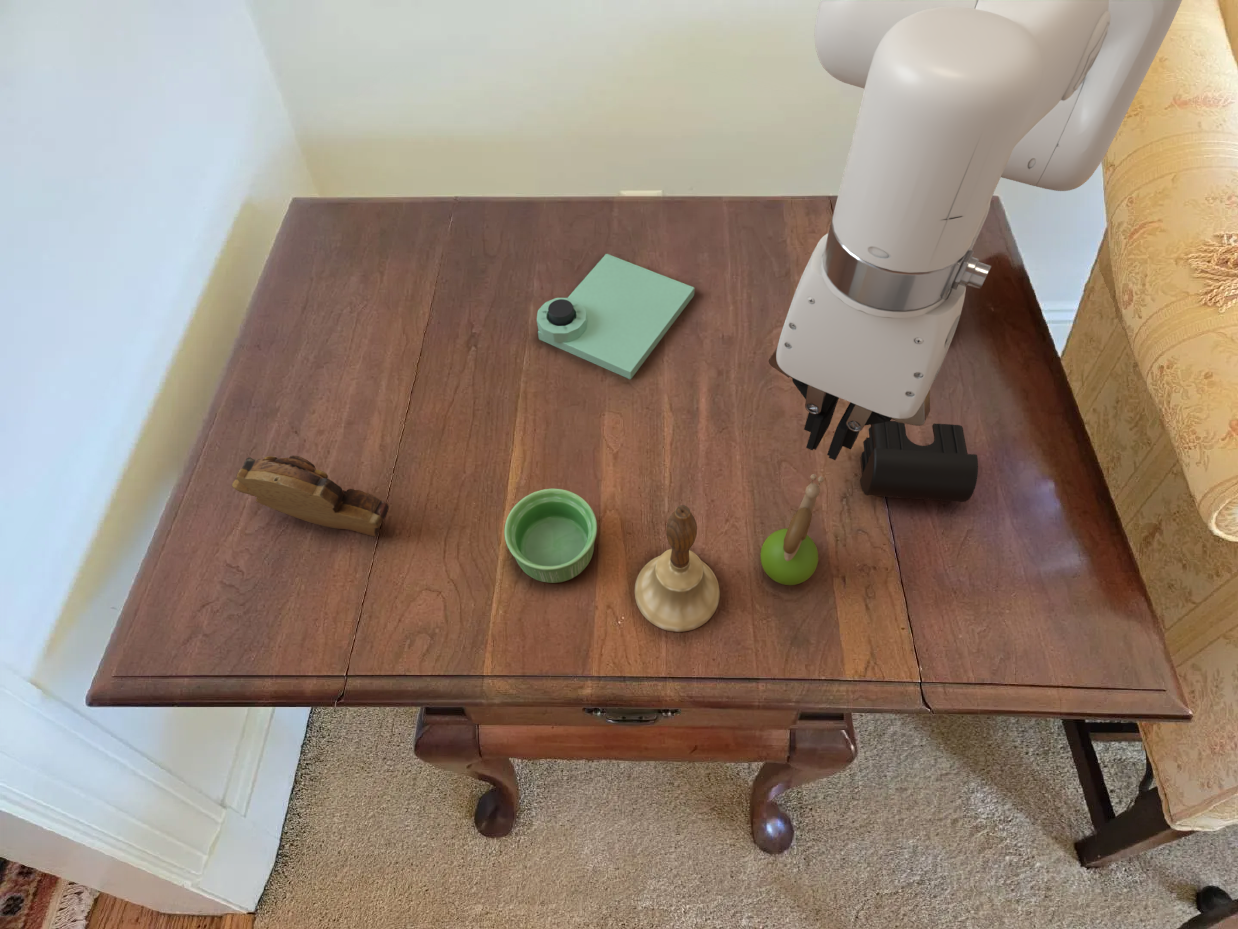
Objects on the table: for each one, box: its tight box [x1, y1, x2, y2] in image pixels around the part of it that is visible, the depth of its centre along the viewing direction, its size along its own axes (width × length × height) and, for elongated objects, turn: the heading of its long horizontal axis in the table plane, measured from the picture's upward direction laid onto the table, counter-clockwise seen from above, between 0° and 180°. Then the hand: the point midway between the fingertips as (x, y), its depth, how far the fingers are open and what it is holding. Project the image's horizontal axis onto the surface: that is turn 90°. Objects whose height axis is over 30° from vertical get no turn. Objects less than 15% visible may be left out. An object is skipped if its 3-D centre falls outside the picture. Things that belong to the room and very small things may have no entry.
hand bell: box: [634, 504, 721, 633], centre depth 69 cm, size 8×8×16 cm
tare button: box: [548, 299, 574, 326], centre depth 93 cm, size 3×3×2 cm
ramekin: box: [503, 488, 598, 584], centre depth 77 cm, size 9×9×4 cm
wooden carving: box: [231, 455, 390, 537], centre depth 77 cm, size 16×5×10 cm, turn 78°
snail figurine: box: [760, 473, 825, 586], centre depth 72 cm, size 5×6×12 cm
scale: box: [536, 253, 695, 380], centre depth 95 cm, size 16×14×3 cm
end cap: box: [859, 420, 979, 503], centre depth 79 cm, size 10×7×7 cm
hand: (828, 440), depth 60 cm, fingers closed
